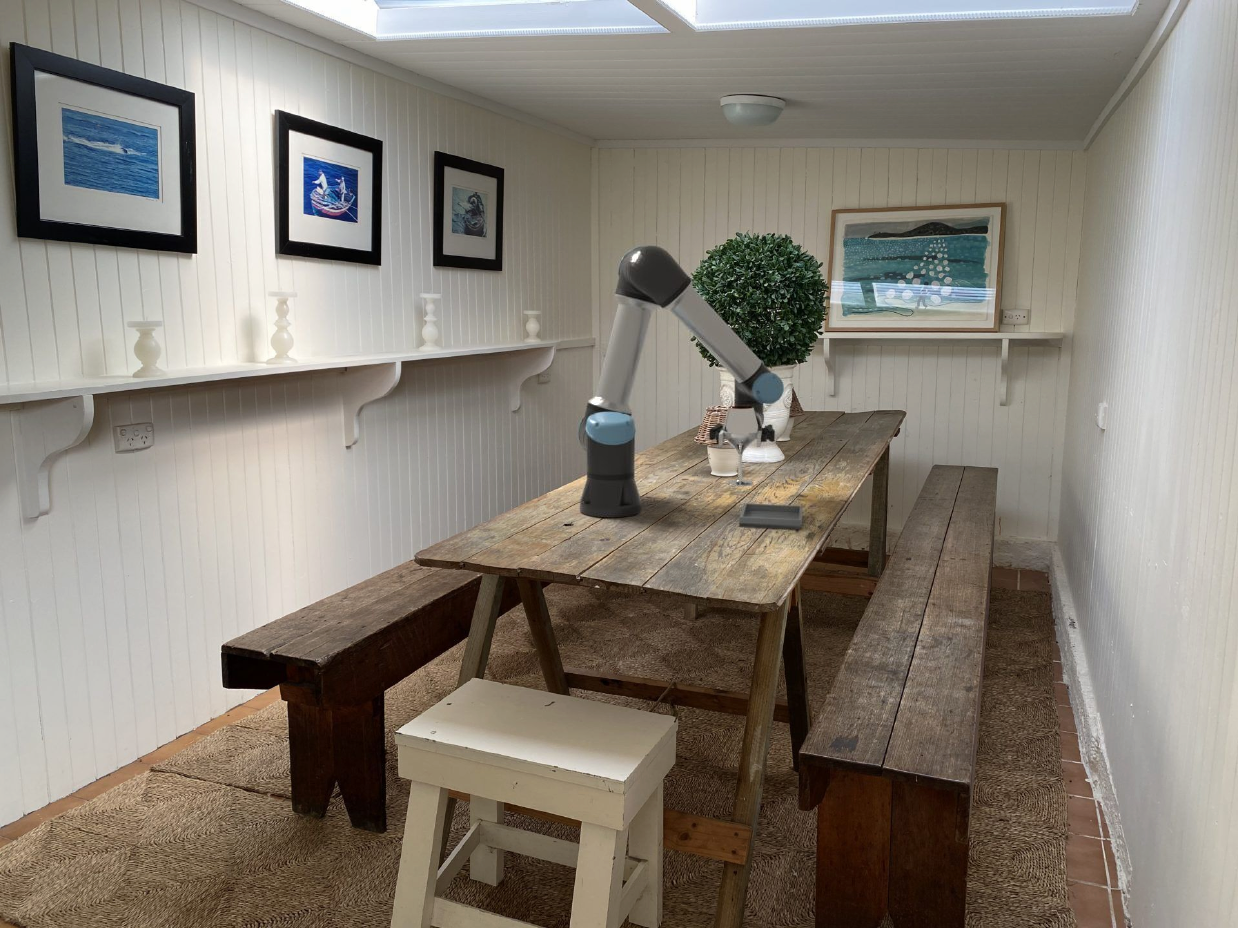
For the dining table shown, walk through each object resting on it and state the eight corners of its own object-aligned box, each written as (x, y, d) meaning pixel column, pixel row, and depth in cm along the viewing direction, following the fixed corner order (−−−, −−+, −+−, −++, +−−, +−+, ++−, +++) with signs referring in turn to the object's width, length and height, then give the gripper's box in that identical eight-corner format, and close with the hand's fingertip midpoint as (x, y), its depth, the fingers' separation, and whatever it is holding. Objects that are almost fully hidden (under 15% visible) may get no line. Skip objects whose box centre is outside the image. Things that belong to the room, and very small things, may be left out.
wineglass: (756, 487, 218) (757, 409, 215) (720, 486, 220) (721, 409, 216) (758, 480, 226) (759, 405, 223) (724, 479, 228) (724, 404, 224)
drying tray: (739, 526, 218) (739, 517, 217) (743, 512, 231) (744, 503, 231) (801, 529, 215) (801, 520, 215) (802, 514, 229) (802, 505, 228)
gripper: (787, 441, 237) (785, 458, 215) (704, 439, 241) (693, 455, 219) (788, 411, 236) (786, 425, 214) (704, 409, 240) (694, 423, 218)
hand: (739, 440), depth 216 cm, fingers closed on wineglass, 8 cm apart
